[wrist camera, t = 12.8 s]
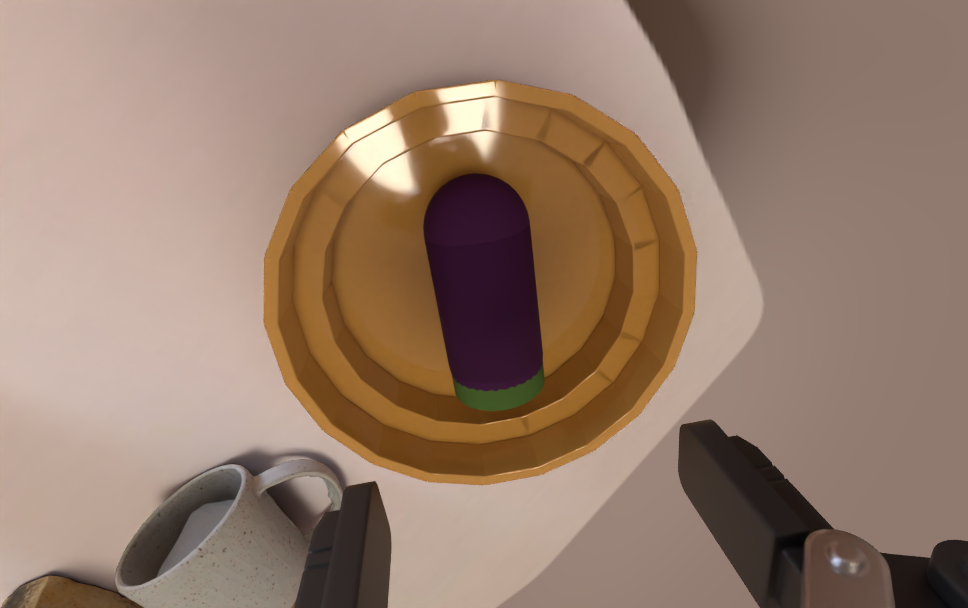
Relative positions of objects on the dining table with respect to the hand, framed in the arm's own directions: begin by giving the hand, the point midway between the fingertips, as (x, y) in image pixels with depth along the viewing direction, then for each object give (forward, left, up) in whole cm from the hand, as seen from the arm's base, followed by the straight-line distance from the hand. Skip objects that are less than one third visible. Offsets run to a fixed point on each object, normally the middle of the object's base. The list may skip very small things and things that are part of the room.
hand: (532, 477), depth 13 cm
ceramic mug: (+13, -16, -16) cm, 26 cm away
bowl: (0, 0, -16) cm, 16 cm away
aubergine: (0, 0, -15) cm, 15 cm away
